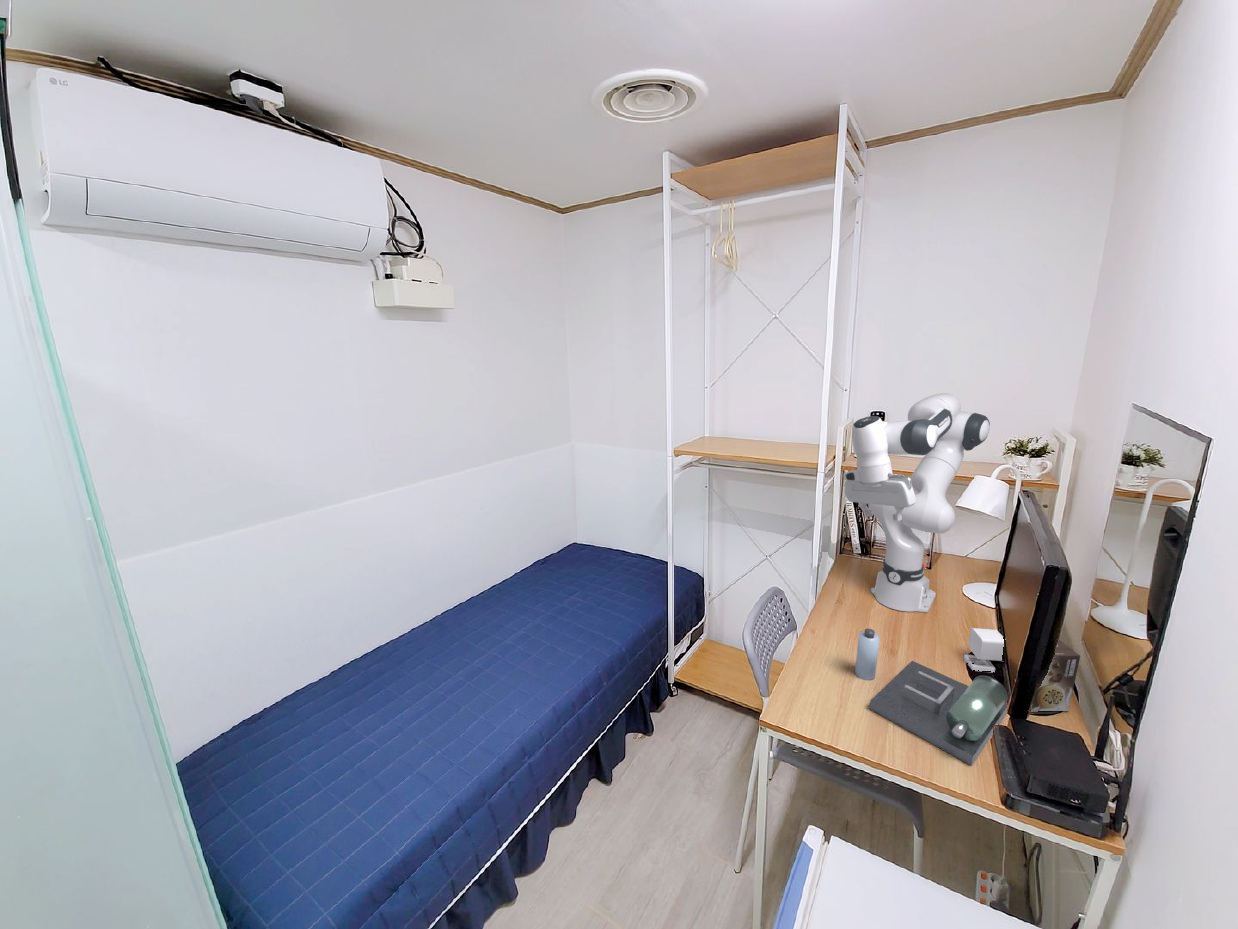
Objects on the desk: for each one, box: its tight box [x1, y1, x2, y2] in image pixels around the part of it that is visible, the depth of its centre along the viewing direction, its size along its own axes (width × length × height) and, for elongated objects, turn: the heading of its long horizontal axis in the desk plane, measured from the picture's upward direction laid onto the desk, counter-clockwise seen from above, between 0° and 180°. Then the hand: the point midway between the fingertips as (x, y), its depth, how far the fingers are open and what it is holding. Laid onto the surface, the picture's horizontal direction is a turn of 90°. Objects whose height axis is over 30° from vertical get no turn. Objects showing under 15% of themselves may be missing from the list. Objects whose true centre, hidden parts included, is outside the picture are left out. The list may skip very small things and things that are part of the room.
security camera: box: [963, 627, 1004, 673], centre depth 137 cm, size 6×7×10 cm
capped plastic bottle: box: [854, 628, 881, 681], centre depth 134 cm, size 5×5×14 cm
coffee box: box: [1029, 639, 1081, 713], centre depth 122 cm, size 9×6×16 cm
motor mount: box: [868, 660, 1009, 767], centre depth 121 cm, size 24×22×10 cm
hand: (882, 518), depth 145 cm, fingers open, 8 cm apart
